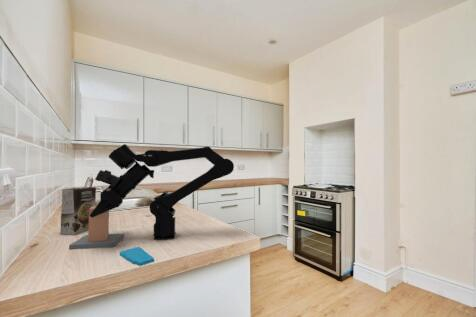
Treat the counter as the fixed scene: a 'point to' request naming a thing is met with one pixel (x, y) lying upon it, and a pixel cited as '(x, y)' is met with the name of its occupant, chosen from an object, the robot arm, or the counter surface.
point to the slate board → (96, 242)
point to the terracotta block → (98, 226)
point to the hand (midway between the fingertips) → (92, 214)
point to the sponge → (137, 256)
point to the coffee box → (76, 209)
